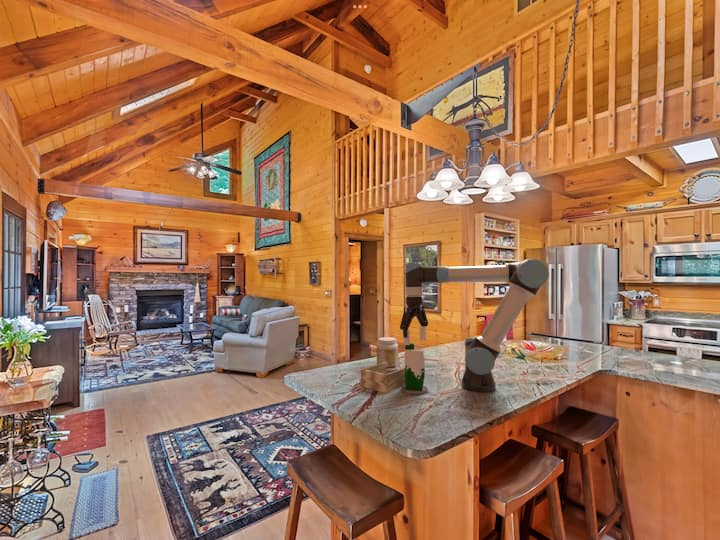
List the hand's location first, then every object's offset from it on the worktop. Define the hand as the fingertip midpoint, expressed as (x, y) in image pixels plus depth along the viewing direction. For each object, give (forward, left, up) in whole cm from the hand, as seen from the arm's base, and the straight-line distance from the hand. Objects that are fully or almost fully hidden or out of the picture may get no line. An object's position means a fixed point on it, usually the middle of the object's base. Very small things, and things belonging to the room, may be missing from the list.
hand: (414, 342), depth 160 cm
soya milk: (0, 0, -21) cm, 21 cm away
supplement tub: (+32, -22, -22) cm, 45 cm away
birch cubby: (+15, +2, -22) cm, 27 cm away
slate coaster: (0, 0, -22) cm, 22 cm away
